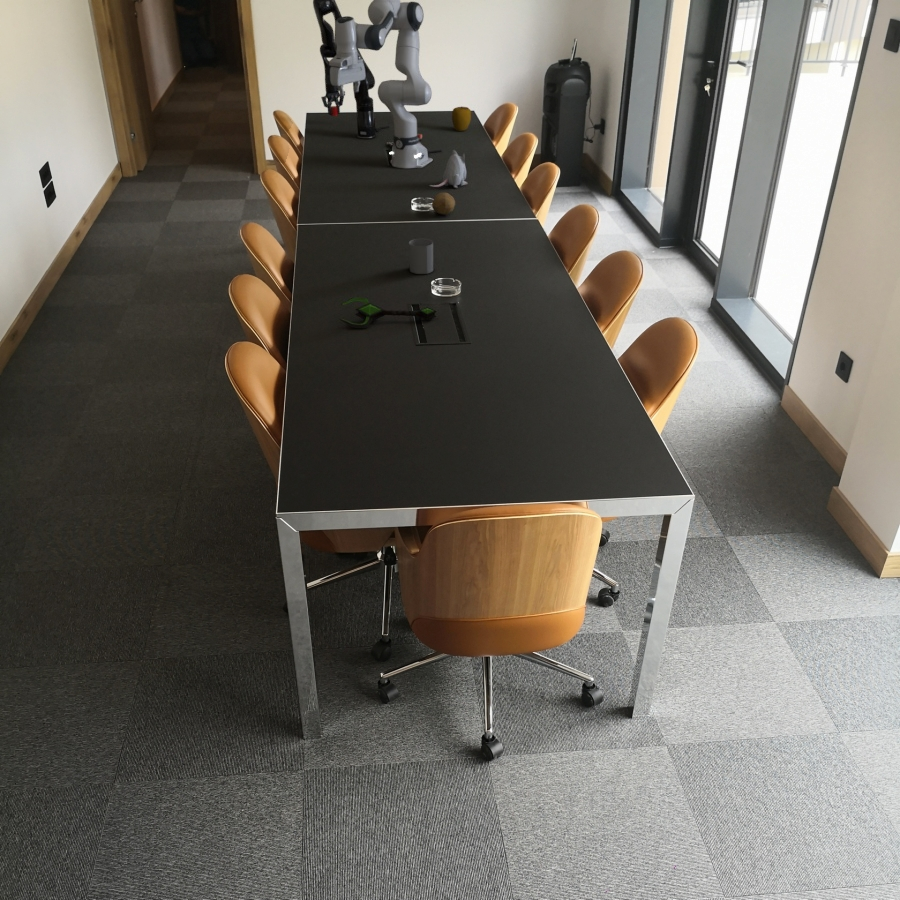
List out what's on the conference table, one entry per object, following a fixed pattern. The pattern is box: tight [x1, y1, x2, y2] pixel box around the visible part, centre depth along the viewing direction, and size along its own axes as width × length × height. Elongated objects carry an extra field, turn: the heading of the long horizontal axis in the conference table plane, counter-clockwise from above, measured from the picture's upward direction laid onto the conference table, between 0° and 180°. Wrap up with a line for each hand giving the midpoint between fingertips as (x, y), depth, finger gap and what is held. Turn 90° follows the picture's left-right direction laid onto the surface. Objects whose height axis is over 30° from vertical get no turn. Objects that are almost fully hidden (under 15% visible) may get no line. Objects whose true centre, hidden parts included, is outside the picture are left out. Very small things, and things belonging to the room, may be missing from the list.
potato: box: [431, 192, 456, 216], centre depth 360 cm, size 10×14×8 cm
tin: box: [330, 105, 339, 117], centre depth 499 cm, size 4×4×4 cm
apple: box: [451, 105, 472, 132], centre depth 487 cm, size 11×11×13 cm
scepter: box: [339, 296, 438, 329], centre depth 270 cm, size 6×13×30 cm
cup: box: [408, 237, 434, 275], centre depth 305 cm, size 8×8×10 cm
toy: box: [428, 149, 468, 189], centre depth 390 cm, size 9×24×15 cm, turn 137°
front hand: (349, 93), depth 377 cm, fingers open, 8 cm apart
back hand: (334, 114), depth 500 cm, fingers closed on tin, 4 cm apart
